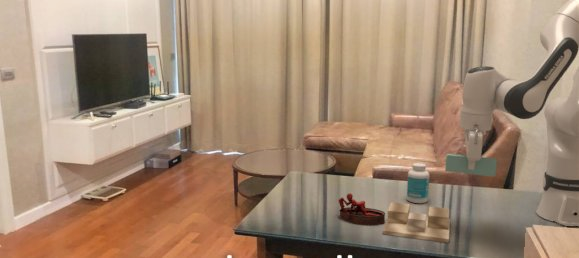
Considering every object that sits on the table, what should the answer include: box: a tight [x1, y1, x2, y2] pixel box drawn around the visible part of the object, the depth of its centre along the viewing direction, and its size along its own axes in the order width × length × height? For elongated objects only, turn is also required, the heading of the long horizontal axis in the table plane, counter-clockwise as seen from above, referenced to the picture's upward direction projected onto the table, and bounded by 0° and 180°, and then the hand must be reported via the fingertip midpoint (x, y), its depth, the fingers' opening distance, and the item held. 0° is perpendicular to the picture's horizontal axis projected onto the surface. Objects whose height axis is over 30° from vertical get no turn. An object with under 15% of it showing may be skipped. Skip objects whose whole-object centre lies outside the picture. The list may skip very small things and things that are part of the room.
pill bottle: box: [406, 162, 430, 204], centre depth 173 cm, size 8×7×14 cm
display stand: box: [382, 201, 451, 244], centre depth 149 cm, size 19×16×5 cm
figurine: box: [338, 193, 386, 226], centre depth 157 cm, size 15×10×10 cm, turn 81°
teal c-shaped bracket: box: [444, 153, 498, 178], centre depth 149 cm, size 14×12×5 cm
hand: (470, 167), depth 144 cm, fingers closed on teal c-shaped bracket
